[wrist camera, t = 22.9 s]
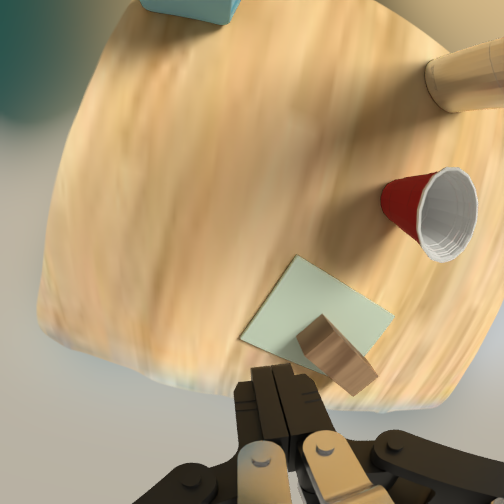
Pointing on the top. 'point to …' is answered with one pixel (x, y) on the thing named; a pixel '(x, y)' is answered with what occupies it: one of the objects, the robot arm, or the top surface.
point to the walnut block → (335, 355)
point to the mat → (313, 313)
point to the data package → (195, 9)
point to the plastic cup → (434, 210)
